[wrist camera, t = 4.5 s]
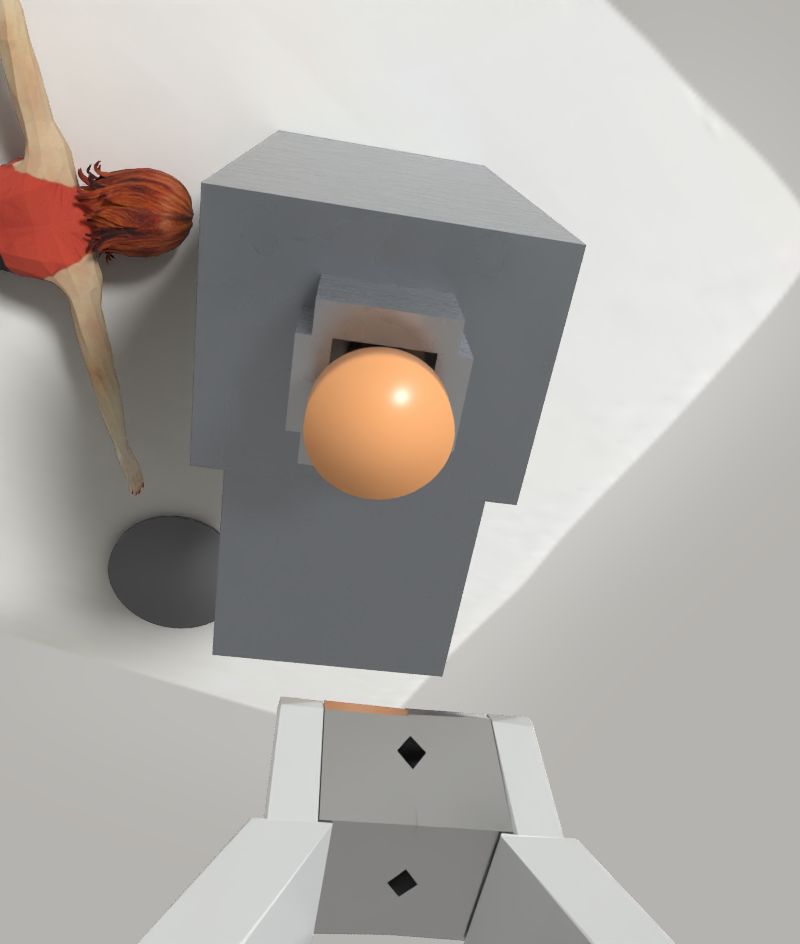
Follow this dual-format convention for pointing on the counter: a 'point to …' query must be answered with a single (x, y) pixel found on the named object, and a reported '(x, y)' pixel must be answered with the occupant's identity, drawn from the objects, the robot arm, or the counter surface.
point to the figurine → (78, 220)
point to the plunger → (378, 423)
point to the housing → (330, 336)
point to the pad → (167, 571)
